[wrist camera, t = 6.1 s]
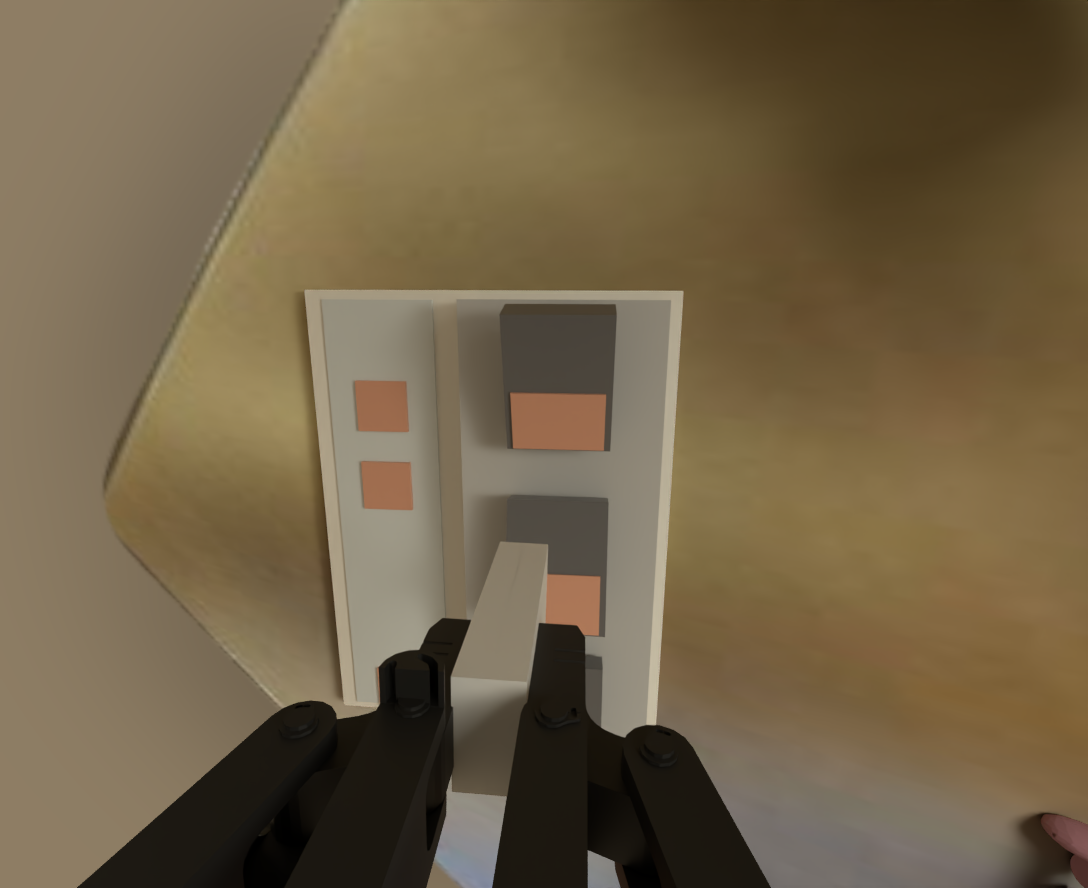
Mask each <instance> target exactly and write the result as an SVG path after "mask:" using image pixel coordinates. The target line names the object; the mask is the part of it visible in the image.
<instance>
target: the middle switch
mask: <svg viewBox="0 0 1088 888" xmlns="http://www.w3.org/2000/svg"><path fill="white" fill-rule="evenodd" d="M608 508H609V502H608V498H595V497H564V496H533V495H511V496H510V497H509V498H508V499H507V530H506V542H516V543H534V544H548V565H547V594H546V623H549V624H564V625H577V626H578V627H579V629H580V630H581V632H582V633H583V635H584V636H593V637H605V621H606V583H607V545H608Z"/></svg>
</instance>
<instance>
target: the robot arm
mask: <svg viewBox="0 0 1088 888" xmlns="http://www.w3.org/2000/svg"><path fill="white" fill-rule="evenodd" d="M547 565H548V544H534V543H516V542H500V544H499V546H498V549H497V552H496V554H495V557H494V560H493V563H492V565H491V568H490V571H489V574H488V576H487V579H486V582H485V584H484V587H483V590H482V593H481V595H480V598H479V601H478V604H477V606H476V609H475V612H474V615H473V617H472V620H467V619H452V618H442V619H441V620H439V621H438V622H437V623H436V624H434V625H433V626H432V627H430V628H429V630H428V632H427V634H426V636H425V638H424V640H423V643H422V645H421V647H420V649H419V650H407V651H404V652H400V653H397V654H394V655H393V656H391V657H389V658H387V659H386V660H385V661H384V662H383V663H382V664H381V665H380V666H379V667H378V668H379V690H380V704H379V706H378V708H377V710H376V711H374V712H371V713H369V714H364V715H360V716H355V717H349V718H343V719H337V718H336V713H335V711H334V709H333V708H332V706H330V705H328V704H326V703H324V702H319V701H305V702H299V703H295V704H293V705H290V706H287V707H285V708H283V709H281V710H280V711H278V712H277V713H275V714H274V715H272V716H271V717H270V718H269V719H268V720H267V721H265V722H264V723H263V724H262V725H261V726H260V727H259V728H258V729H256V730H255V731H254V732H253V733H252V734H251V735H250V736H249V737H247V738H246V739H245V740H244V741H243V742H242V743H241V744H239V745H238V746H237V747H236V748H235V749H234V750H233V751H231V752H230V753H229V754H228V755H227V756H226V757H225V758H223V759H222V760H221V761H220V762H219V763H218V764H217V765H216V766H214V767H213V768H212V769H211V770H210V771H209V772H208V773H206V774H205V775H204V776H203V777H202V778H201V779H200V780H199V781H197V782H196V783H195V784H194V785H193V786H192V787H191V788H190V789H189V790H187V791H186V792H185V793H184V794H183V795H182V796H181V797H179V798H178V799H177V800H176V801H175V802H174V803H172V804H171V805H170V806H169V807H168V808H167V809H166V810H165V811H163V812H162V813H161V814H160V815H159V816H158V817H157V818H155V819H154V820H153V821H152V822H151V823H150V824H149V825H148V826H146V827H145V828H144V829H143V830H142V831H141V832H140V833H138V835H136V836H135V837H134V838H133V839H132V840H131V841H129V842H128V843H127V844H126V845H125V846H124V847H123V848H122V849H120V850H119V851H118V852H117V853H116V854H115V855H114V856H113V857H111V858H110V859H109V860H108V861H107V862H106V863H104V864H103V865H102V866H101V867H100V868H99V869H98V870H97V871H95V872H94V873H93V874H92V875H91V876H90V877H89V878H87V879H86V880H85V881H84V882H83V883H82V884H81V885H80V886H78V887H77V888H426V887H427V883H428V879H429V875H430V872H431V868H432V864H433V861H434V857H435V854H436V850H437V846H438V842H439V839H440V835H441V831H442V828H443V824H444V820H445V817H446V791H447V788H448V784H449V781H450V777H451V774H452V792H462V793H474V794H486V795H497V796H507V800H506V806H505V812H504V818H503V825H502V831H501V837H500V843H499V849H498V855H497V862H496V868H495V874H494V880H493V886H492V888H588V850H589V851H592V852H594V853H596V854H599V855H601V856H603V857H606V858H608V859H610V860H613V861H615V870H616V873H617V877H618V880H619V884H620V887H621V888H771V887H770V885H769V883H768V882H767V880H766V878H765V876H764V874H763V873H762V871H761V869H760V867H759V865H758V864H757V862H756V860H755V858H754V856H753V855H752V853H751V851H750V849H749V847H748V846H747V844H746V842H745V840H744V838H743V837H742V835H741V833H740V831H739V829H738V828H737V826H736V824H735V822H734V820H733V819H732V817H731V815H730V813H729V811H728V810H727V808H726V806H725V804H724V803H723V801H722V799H721V797H720V795H719V794H718V792H717V790H716V788H715V786H714V785H713V783H712V781H711V779H710V777H709V776H708V774H707V772H706V770H705V768H704V767H703V765H702V763H701V761H700V759H699V758H698V756H697V754H696V752H695V750H694V749H693V747H692V746H691V744H690V743H689V742H688V741H687V740H686V738H685V737H683V736H682V735H680V734H679V733H677V732H676V731H674V730H672V729H669V728H666V727H663V726H660V725H644V726H640V727H637V728H634V729H633V730H632V731H630V732H629V733H628V734H627V735H626V737H625V738H624V737H621V736H618V735H615V734H613V733H611V732H608V731H606V730H604V729H603V728H601V727H600V726H598V725H597V724H596V723H595V722H594V721H593V720H592V719H591V718H590V716H589V714H588V712H587V709H586V673H585V636H584V635H583V633H582V632H581V630H580V629H579V627H578V626H577V625H564V624H549V623H546V594H547Z"/></svg>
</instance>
